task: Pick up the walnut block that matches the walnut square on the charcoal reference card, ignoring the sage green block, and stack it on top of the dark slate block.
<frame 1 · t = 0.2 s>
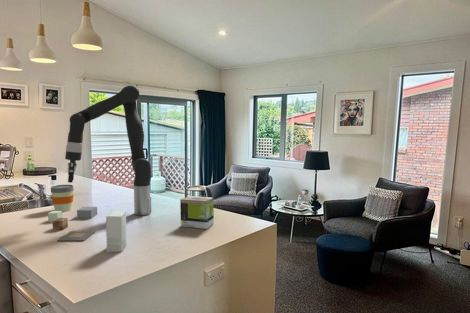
hand: (70, 181, 168), 23 cm above the counter, tool pointing down, fingers open, 8 cm apart
sage green block: (55, 220, 174), on the counter
reusable coffee cup: (63, 210, 196), on the counter
slate block: (87, 216, 182), on the counter
skincare box: (117, 249, 134), on the counter
reference card: (77, 236, 149), on the counter
tea box: (197, 225, 167), on the counter
walnut block: (60, 228, 160), on the counter
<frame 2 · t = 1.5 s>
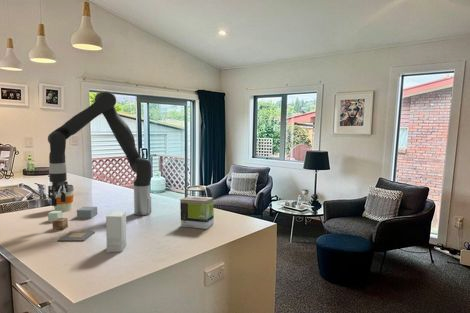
hand: (59, 203, 159), 13 cm above the counter, tool pointing down, fingers open, 8 cm apart
nothing on the counter moved.
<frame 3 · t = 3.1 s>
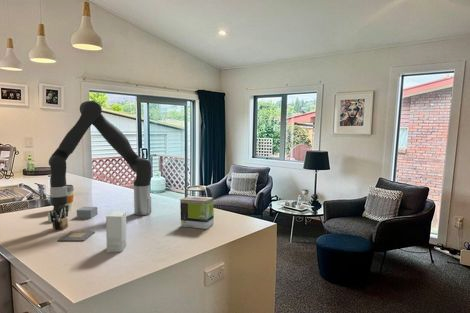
hand: (60, 227, 160), 0 cm above the counter, tool pointing down, fingers closed on walnut block, 5 cm apart
walnut block: (60, 228, 160), on the counter, touching gripper
everything else where it was.
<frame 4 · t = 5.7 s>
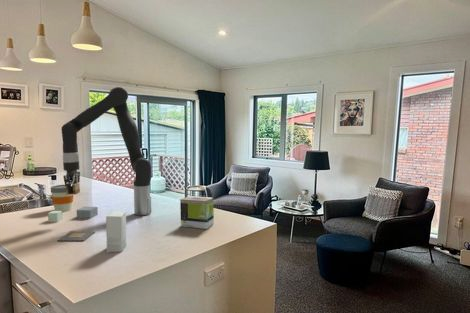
hand: (73, 192, 169), 17 cm above the counter, tool pointing down, fingers closed on walnut block, 5 cm apart
walnut block: (73, 193, 169), point 16 cm above the counter, touching gripper
everything else where it was.
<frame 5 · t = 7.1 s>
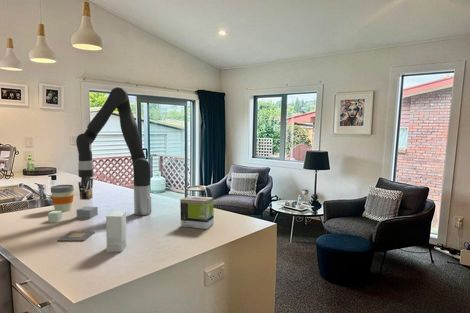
hand: (86, 197, 181), 11 cm above the counter, tool pointing down, fingers closed on walnut block, 5 cm apart
walnut block: (86, 198, 181), point 11 cm above the counter, touching gripper
everything else where it was.
when the fingers open (7 cm above the counter, at t = 8.3 s): walnut block drops 2 cm, resting on slate block.
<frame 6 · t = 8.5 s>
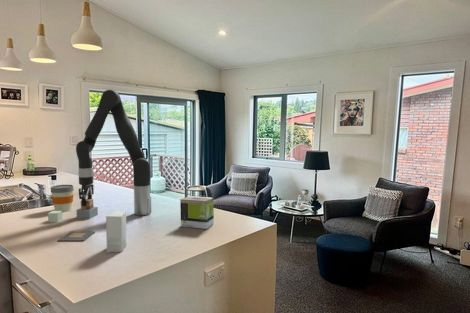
hand: (87, 204, 182), 7 cm above the counter, tool pointing down, fingers open, 7 cm apart
slate block: (87, 216, 182), on the counter, touching walnut block
walnut block: (87, 208, 182), point 5 cm above the counter, touching slate block
everything else where it was.
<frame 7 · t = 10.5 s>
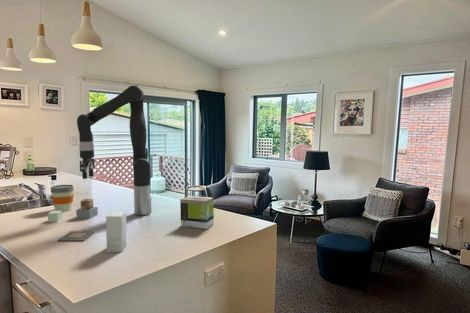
hand: (88, 177, 182), 22 cm above the counter, tool pointing down, fingers open, 8 cm apart
nothing on the counter moved.
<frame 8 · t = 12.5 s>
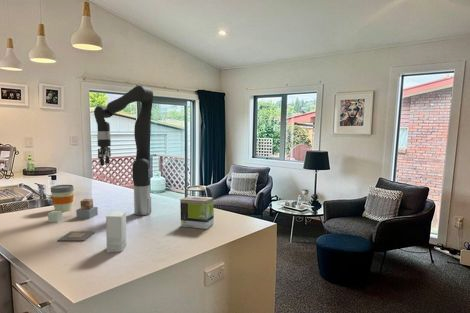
hand: (104, 164, 198), 28 cm above the counter, tool pointing down, fingers open, 8 cm apart
slate block: (87, 216, 183), on the counter
walnut block: (87, 208, 182), point 5 cm above the counter
everything else where it was.
at the end: walnut block 0.1 cm off-centre on the slate block, point 5.0 cm above the slate block's base; walnut block tilted 0°; the gripper is holding nothing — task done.
